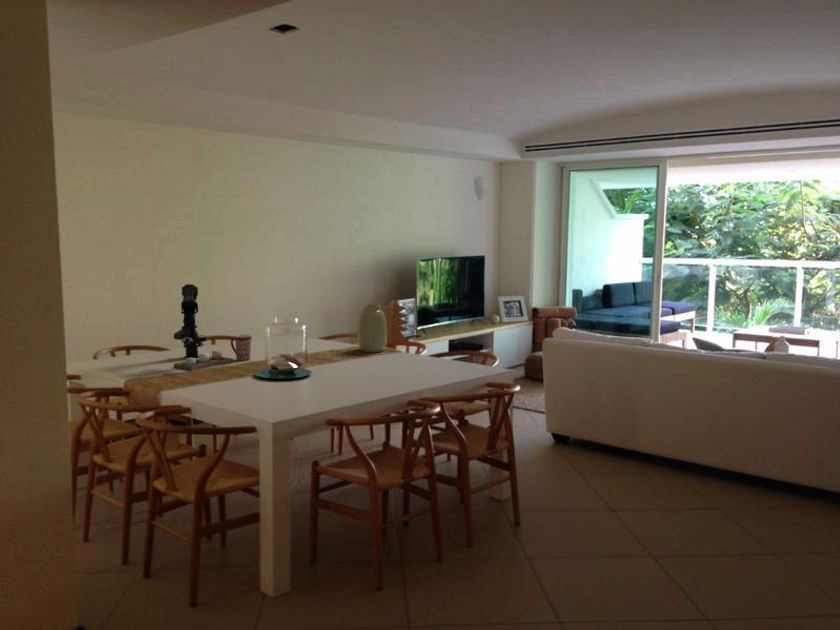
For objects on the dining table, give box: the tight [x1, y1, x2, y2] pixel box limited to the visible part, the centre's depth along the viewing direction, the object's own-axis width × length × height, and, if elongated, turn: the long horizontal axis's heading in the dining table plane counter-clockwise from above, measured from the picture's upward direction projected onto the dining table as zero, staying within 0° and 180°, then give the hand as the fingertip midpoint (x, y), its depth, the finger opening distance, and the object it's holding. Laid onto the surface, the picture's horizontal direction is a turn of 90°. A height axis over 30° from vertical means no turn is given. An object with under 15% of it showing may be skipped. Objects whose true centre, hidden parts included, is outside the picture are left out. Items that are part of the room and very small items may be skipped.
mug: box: [230, 334, 252, 362], centre depth 405 cm, size 13×9×14 cm
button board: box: [173, 356, 234, 371], centre depth 389 cm, size 14×28×2 cm, turn 148°
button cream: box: [198, 352, 210, 362], centre depth 389 cm, size 5×5×4 cm
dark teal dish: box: [254, 353, 312, 379], centre depth 365 cm, size 28×28×11 cm
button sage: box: [184, 358, 197, 365], centre depth 381 cm, size 5×5×4 cm
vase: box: [357, 304, 388, 353], centre depth 440 cm, size 17×17×27 cm
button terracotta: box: [211, 350, 223, 360], centre depth 396 cm, size 5×5×4 cm
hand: (190, 353), depth 381 cm, fingers closed
